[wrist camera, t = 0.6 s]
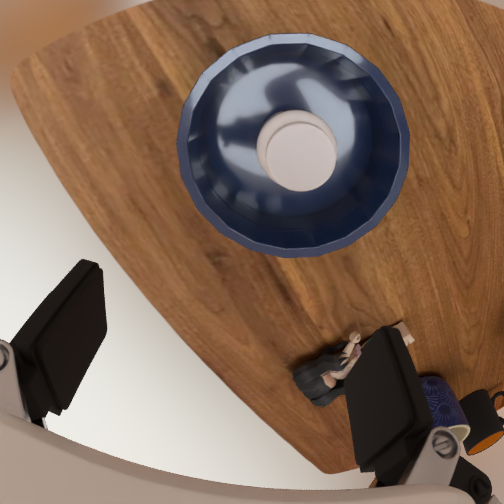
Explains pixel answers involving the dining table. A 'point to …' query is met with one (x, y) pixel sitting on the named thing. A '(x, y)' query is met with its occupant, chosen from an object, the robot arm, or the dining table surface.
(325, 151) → the pill bottle
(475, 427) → the mug
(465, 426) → the planter
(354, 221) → the bowl
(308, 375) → the toy figure
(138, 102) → the dining table surface
